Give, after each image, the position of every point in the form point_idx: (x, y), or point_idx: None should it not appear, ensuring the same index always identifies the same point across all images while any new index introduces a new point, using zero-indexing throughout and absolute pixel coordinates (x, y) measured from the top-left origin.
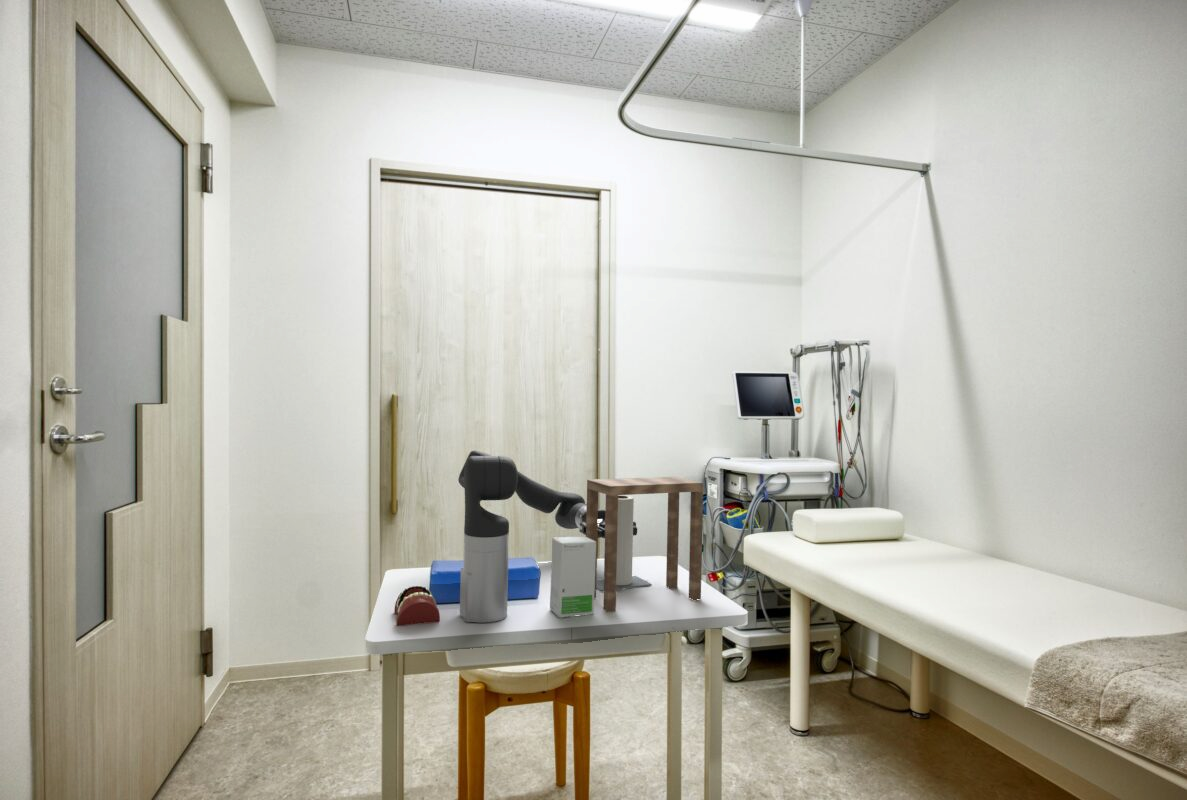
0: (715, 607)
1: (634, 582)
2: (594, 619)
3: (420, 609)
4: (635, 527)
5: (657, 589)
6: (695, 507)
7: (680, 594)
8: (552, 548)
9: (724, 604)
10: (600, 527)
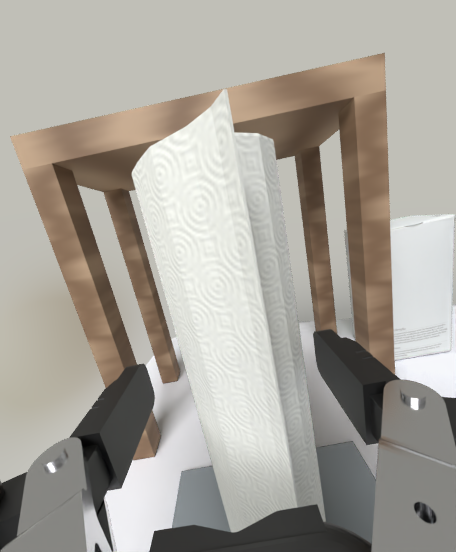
0: (175, 352)
1: (221, 505)
2: (350, 327)
3: None
4: (134, 366)
5: (190, 438)
6: (137, 222)
7: (172, 400)
8: (451, 236)
9: (155, 359)
10: (355, 359)
